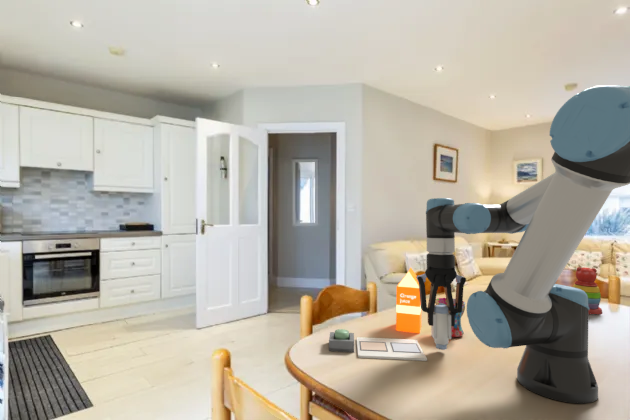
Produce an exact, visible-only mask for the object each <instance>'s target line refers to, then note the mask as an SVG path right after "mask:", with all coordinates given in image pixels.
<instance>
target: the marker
mask: <svg viewBox="0 0 630 420" xmlns="http://www.w3.org/2000/svg"><path fill="white" fill-rule="evenodd" d="M434 314H435V315H436V336H437V339H434V338H433V342H434V343H435V348H436V349H438V350H442V351H445V350H447V349H448V344H449V340H450V339H448V306H445V305H436V304H435V307H434Z"/></svg>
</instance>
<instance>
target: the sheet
mask: <svg viewBox="0 0 630 420" xmlns="http://www.w3.org/2000/svg"><path fill="white" fill-rule="evenodd" d="M356 347H357V358H360V359H381V360H400V361H401V360H402V361H404V360H405V361H423V362H426V361H428V358H427V356H426V353H424V351H423V349H422V347H421V345H420V343H419V342H418V339H408V338H405V339H404V338H386V337H385V338H383V337H362V336H360V337H358V336H356Z"/></svg>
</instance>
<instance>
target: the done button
mask: <svg viewBox="0 0 630 420" xmlns="http://www.w3.org/2000/svg"><path fill="white" fill-rule="evenodd" d="M334 332H335V339H343V340H348V339H349V333H350V331H349V330H348V329H345V328H344V329H343V328H339V329H335V330H334Z"/></svg>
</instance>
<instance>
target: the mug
mask: <svg viewBox="0 0 630 420" xmlns="http://www.w3.org/2000/svg"><path fill="white" fill-rule="evenodd" d="M453 303H454V308H455V298H453ZM435 305H445V306H447V300H446V297H438V298H437V297H436V301H435ZM465 305H466V302H465V301H464V300H463V302H462V312H461V313H456V315H455V325H454V326H451V338H460V337H463V335H465V334H464V331H463V327H462V316H463V315H464V313H465V309H466V306H465ZM448 313H449V311H448Z"/></svg>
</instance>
